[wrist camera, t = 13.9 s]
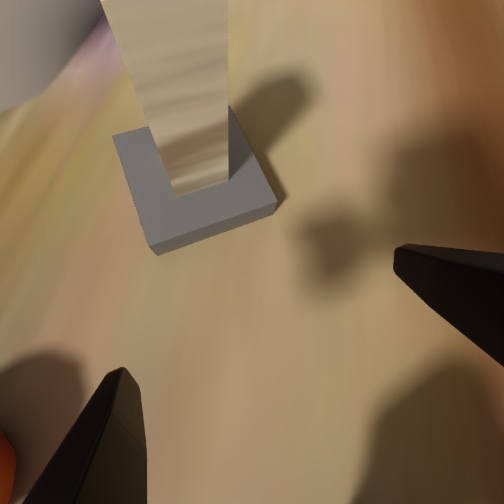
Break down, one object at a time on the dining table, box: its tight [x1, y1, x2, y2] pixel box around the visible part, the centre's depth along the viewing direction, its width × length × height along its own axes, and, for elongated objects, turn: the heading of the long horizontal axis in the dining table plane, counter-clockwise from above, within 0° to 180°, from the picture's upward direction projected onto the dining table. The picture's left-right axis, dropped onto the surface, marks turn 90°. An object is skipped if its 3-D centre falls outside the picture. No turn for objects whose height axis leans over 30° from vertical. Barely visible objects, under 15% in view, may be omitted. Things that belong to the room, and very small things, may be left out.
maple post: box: [100, 0, 229, 197], centre depth 16 cm, size 5×5×13 cm
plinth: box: [112, 106, 278, 256], centre depth 23 cm, size 11×11×2 cm
